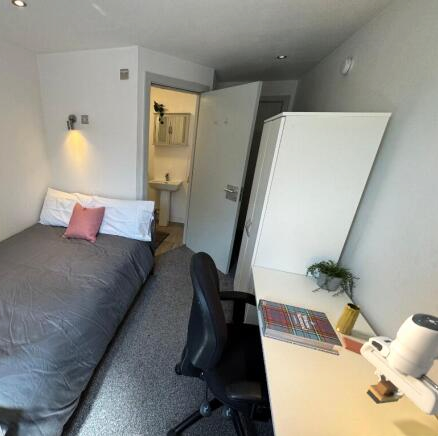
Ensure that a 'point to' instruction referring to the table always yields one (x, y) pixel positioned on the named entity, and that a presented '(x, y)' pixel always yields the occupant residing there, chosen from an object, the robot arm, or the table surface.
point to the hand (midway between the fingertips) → (387, 389)
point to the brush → (383, 392)
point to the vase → (348, 318)
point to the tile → (352, 345)
